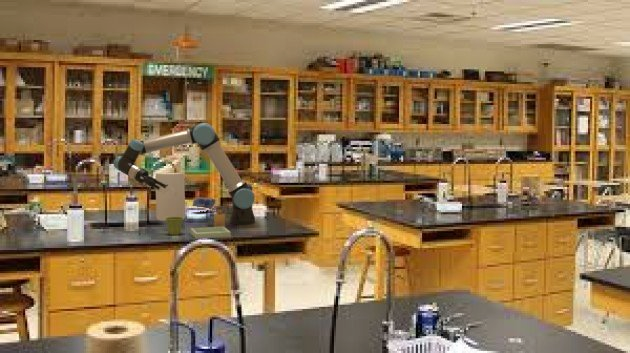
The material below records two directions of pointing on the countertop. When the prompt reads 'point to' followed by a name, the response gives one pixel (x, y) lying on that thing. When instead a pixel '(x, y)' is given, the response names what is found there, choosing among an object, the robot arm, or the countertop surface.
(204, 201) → the mineral
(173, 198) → the cylinder
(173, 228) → the plant pot
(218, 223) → the reagent bottle
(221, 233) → the tray
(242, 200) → the robot arm
